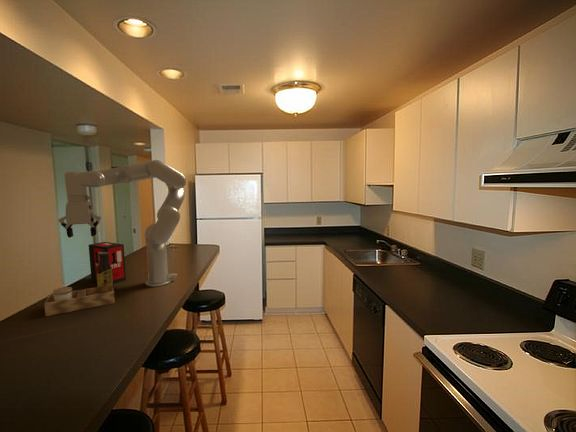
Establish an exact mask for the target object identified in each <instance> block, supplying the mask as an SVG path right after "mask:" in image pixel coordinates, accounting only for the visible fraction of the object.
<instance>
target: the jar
mask: <svg viewBox="0 0 576 432" xmlns="http://www.w3.org/2000/svg"><path fill="white" fill-rule="evenodd" d="M72 291H73V287H71V286H64V287H60V288H55V289H54V290H53V291H52V295H53V294H54V302H55V301H61V300H67V299H72Z"/></svg>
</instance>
